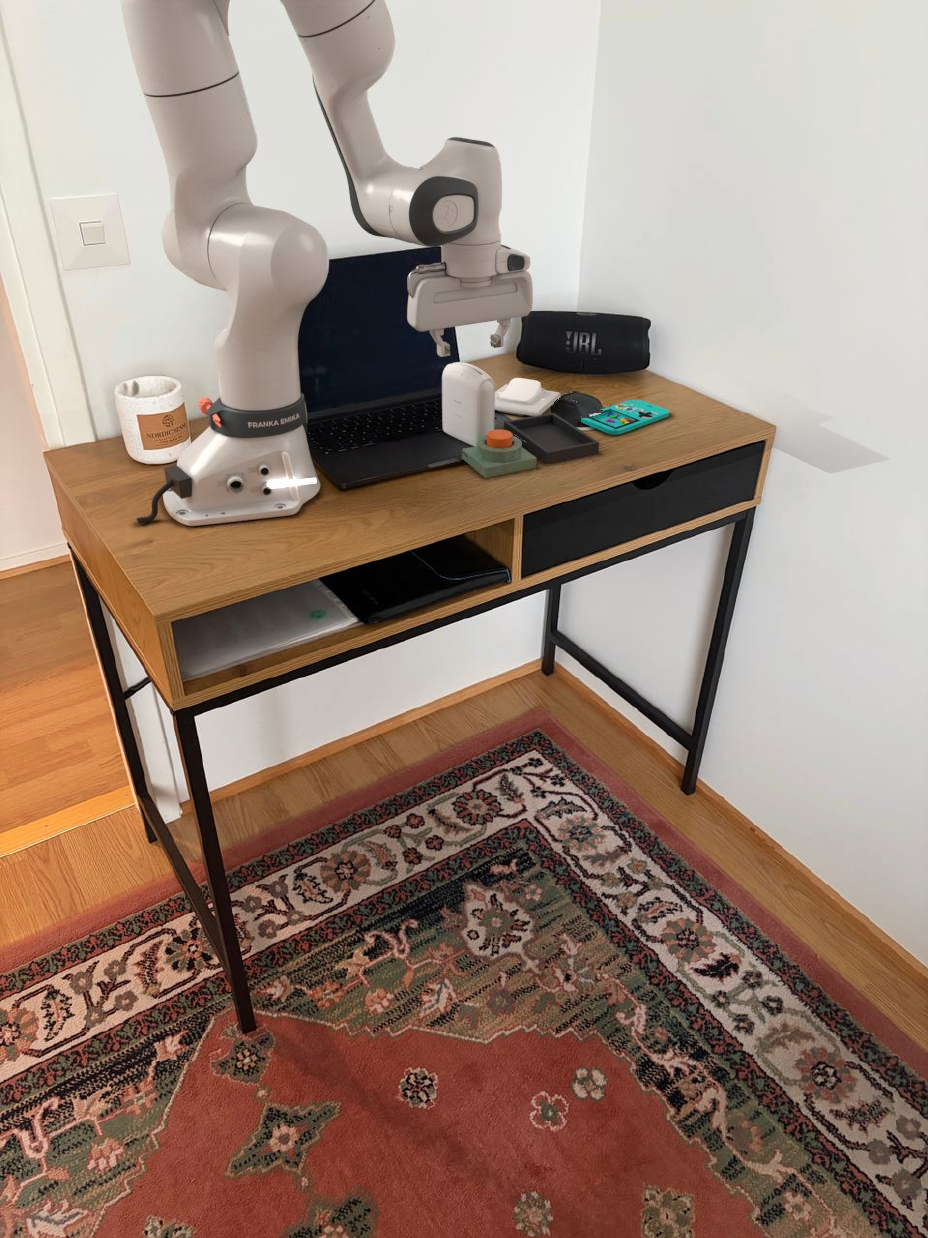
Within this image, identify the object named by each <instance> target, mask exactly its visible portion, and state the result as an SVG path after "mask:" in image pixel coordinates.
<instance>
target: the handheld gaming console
mask: <svg viewBox="0 0 928 1238" xmlns="http://www.w3.org/2000/svg"><path fill="white" fill-rule="evenodd" d="M601 410H603V412H602V413H601V414H599V415H596V416H593V417H589V418H582V417H581V419H580V423H582V424H584V425H587V426H589V427H590V428H593V429H596V430H598V431H601V432H602V433H606V434H608V435H612V436H618V435H622V434H624V433H627V432H630V431H633V430H635V429H637V428H641V427H643V426H646V425H649V424H652V423H656V422H657V421H660V420H663V419H666V418H668V417H669V415H670V410H669V409H667V408H664V407H662V406H659V405H656V404H654V403H650V402H647V401H645V400H640V399H639V400H638V399H631V400H630V399H629V400H625V401H623V402H620V403H616V404H614V405H610V406H608V407H605V408H601Z"/></svg>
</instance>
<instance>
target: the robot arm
mask: <svg viewBox="0 0 928 1238" xmlns="http://www.w3.org/2000/svg"><path fill="white" fill-rule="evenodd" d="M230 2H231V0H120V4H121V5H120V6H121V10H122V17H123V23H124V27H125V32H126V37H127V42H128V47H129V51H130V55H131V58H132V61H133V65H134V69H135V72H136V77H137V79H138V83H139V85H140V88H141V91H142V94H143V97H144V99H145V102H146V105H147V108H148V111H149V115H150V118H151V120H152V123H153V124H152V125H153V126H154V129H155V132H156V136H157V139H158V142H159V145H160V148H161V151H162V153H163V154H162V155H163V159H164V161H165V166H166V170H167V176H168V183H169V194H170V195H169V196H170V209H169V211H168V213H167V214H166V215H165V219H164V221H163V224H162V230H161V240H162V247H163V250H164V252H165V256H166V257H167V260H168V261H169V263H170V264H171V265H172V266H173V267H174V268H175V269H176V270H178V271H179V272H181V273H182V274H184V275H185V276H187V277H188V278H190V279H191V280H193V281H194V282H196V283H198V284H199V285H202V286H204V287H209V288H211V289H216V290H219V291H222V292H226V293H227V294H228V296H229V301H230V303H229V304H230V309H229V317H228V322H227V326H226V327H225V328H224V329H222V330H221V331H220V332H219V334H218V335H217V336H216V338H215V339H214V340H215V341H214V343H213V348H212V349H213V357H214V364H215V370H216V378H217V385H218V391H219V392H218V393H219V397H218V398H217V399H216V400H215V401H214V402H213V401H212V400H211V399H210V397H201V398H200V399H199V401H198V403H197V406H198V409H199V410H200V411H201V413H202V414H203V415H205V416H207V419H208V425H209V426H208V427H207V428H206V429H205V430H204V431H203V432H202V433H200V435H198V436H197V437H196V438H195V439H194V440H193V441H192V442H191V443H189V445H187V446H186V447H185V448H184V449H183V450H181V451H180V453H179V455H178V458H177V461H176V464H173V465H171V466H167V467H163V470H164V476H165V484H164V485H163V486H162V487H161V488H159V489H158V490H157V491H156V493H155V494H154V495H153V497H152V500H151V513H150V514H149V515H148V516H147V515H146V516H140V517H136V521H137V523H138V524H147V523H150V522H153V521H154V520H155V519H156V518H157V516H158V513H159V501H160V499H161V498H162V499H163V506H164V508H165V509H166V512H167V513H168V514H169V516H170V517H172V519H173V520H175V521H176V522H178V523H180V524H182V525H185V526H189V527H196V526H206V525H215V524H226V523H235V522H242V521H243V522H244V521H249V520H250V521H252V520H260V519H269V518H279V517H287V516H293V515H295V514H297V513H298V512H299V511H300V510H301V508H302V506H303V505H304V504H305V503H307V502H309V501H310V500H311V499H313V498H314V497H315V496H317V494H318V493H319V491H320V489H321V481H320V480H319V477H318V474H317V472H316V469H315V466H314V462H313V459H312V455H311V452H310V448H309V447H310V446H309V443H308V438H307V437H308V436H307V432H308V411H307V405H306V399H305V394H304V393H303V392H301V380H300V368H299V367H300V365H299V364H300V363H299V348H298V347H299V345H298V344H299V332H300V327H301V322H302V319H303V316H304V313H305V310H306V308H307V306H308V305H309V304H310V303H311V301H312V300H314V299H315V298H317V296H318V295H319V293H320V292H321V291H322V289H323V287H324V286H325V283H326V282H327V278H328V273H329V268H330V257H329V250H328V246H327V243H326V241H325V238H324V237H323V235H322V234H321V232H320V231H319V230H318V229H317V228H316V227H314V226H313V225H312V224H310V223H308V222H306V221H304V220H303V219H301V218H299V217H298V216H295V215H293V214H291V213H289V212H287V211H284V210H280V209H275V208H269V207H264V206H259V205H254V203H253V202H252V200H251V199H250V194H249V192H248V187H247V185H248V184H247V168H248V167H247V166H248V165H249V164H250V163H251V161H252V160H253V159H254V156H255V155H256V153H257V149H258V143H259V142H258V135H257V131H256V126H255V123H254V120H253V116H252V112H251V109H250V105H249V101H248V98H247V94H246V91H245V88H244V83H243V80H242V76H241V72H240V69H239V66H238V62H237V59H236V55H235V53H234V50H233V46H232V43H231V41H230V38H229V37H230V32H229V6H230ZM279 2H280V3H281V5H282V6H283V7H284V10H285V12H286V15H287V17H288V19H289V21H290V24H291V25H292V28H293V30H294V32H295V34H296V37H297V38H298V41H299V43H300V46H301V47H302V50H303V52H304V54H305V56H306V59H307V62H308V64H309V67H310V70H311V76H312V84H313V88H314V92H315V96H316V98H317V101H318V104H319V107H320V110H321V113H322V115H323V118H324V121H325V123H326V126H327V128H328V131H329V133H330V136H331V138H332V141H333V143H334V146H335V148H336V151H337V154H338V156H339V159H340V161H341V164H342V166H343V169H344V172H345V177H346V180H347V181H346V182H347V187H348V194H349V201H350V206H351V210H352V214H353V216H354V219H355V221H356V223H358V225H359V227H360V228H361V229H362V230H363V231H365V232H366V233H368V234H369V235H371V236H374V237H379V238H380V237H381V238H388V239H393V240H397V241H402V242H404V243H409V244H414V245H417V246H421V247H426V248H437V247H441V248H440V249H441V262H435V263H431V264H420V265H416V267H415V268H414V269H412V270H411V271H410V272H409V274H408V275H407V278H406V279H407V280H406V281H407V282H406V285H407V292H408V297H407V298H408V299H407V309H406V313H407V314H406V319H407V323H408V324H409V325H410V326H411V327H412V328H413V329H415V330H416V331H417V332H420V333H423V332H427V331H428V332H429V334H430V336H431V337H432V339H433V340H434V343H435V344H436V353H437V356H439V357H440V358H443V357H447V356H450V355H451V351H450V350H451V345H450V344H449V343H448V342H447V341H443V338H442V337H441V336H444V331H445V329H448V328H455V327H462V326H468V325H476V324H482V323H490V322H496V323H497V324H498V326H497V327H496V330H495V332H494V333H493V334H492V333H491V334H490V335H489V336H490V338H489V339H490V342H489V344H490V346H491V348H493V349H497V348H498V349H499V348H503V347H504V345H505V343H504V342H505V341H504V339H505V336H506V335H507V333H508V331H509V329H510V327H511V325H512V324H511V322H512V319H516V318H523V317H527V316H528V315H529V314H530V312H531V311H532V309H533V304H534V289H533V279H532V275H531V273H530V272H529V271H528V270H529V269H530V266H531V256H529V255H527V253H525V252H523V251H520V250H518V249H516V248H512V247H509V246H507V245H505V244H502V234H501V230H500V216H501V215H500V214H501V211H502V207H503V206H502V205H503V177H502V176H503V173H502V164H501V158H500V155H499V151H498V149H497V147H496V146H495V145H494V144H492V143H491V142H488V141H484V140H478V139H471V138H466V137H459V136H453V137H449V138H447V139H445V141H444V144H443V147H442V149H441V150H439V152H438V153H437V154H436V155H435V156H434V157H432V158H431V160H430V161H428V162H427V163H425V164H423V165H421V166H419V168H417V167H412V166H407V165H403V164H401V163H400V162H398V161H397V160H395V159H394V158H392V156H390V155H389V154H388V152H387V151H386V150H385V148H384V144H383V141H382V138H381V135H380V132H379V130H378V127H377V123H376V121H375V118H374V115H373V113H372V110H371V107H370V103H369V97H368V96H369V95H368V93H369V89H371V88H372V87H373V86H374V85H375V84H377V83H378V82H379V81H380V80H381V79H382V78H383V76H384V75H385V74H386V72H387V71H388V69H389V67H390V66H391V63H392V59H393V58H394V57H393V56H394V53H395V48H396V36H395V31H394V25H393V22H392V18H391V15H390V12H389V9H388V6H387V3H386V1H385V0H279Z"/></svg>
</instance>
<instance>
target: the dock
mask: <svg viewBox="0 0 928 1238" xmlns="http://www.w3.org/2000/svg"><path fill="white" fill-rule="evenodd" d="M503 423H504V424H503V430H507V431H510V432H512V434H513V436H514V437H517V436H518V437H519V438H518V437H517V438H518V439H519V440H521V439H522V440H525V441H526V442H527V444H526V443H525V442H524V441H522V440H521V441H522V447H523V448H524V449H525V450H527V451H528V452H529V453H531V454H532V455H533V456H535V457H536V458H537V459H539V460H540V461H541V462H543V463H545V464H546V465H550V464H554V463H559V462H560V463H561V462H564V461H569V460H574V459H578V458H583V457H588V456H593V455H598V454H599V451H600V450H599V449H600V441H598V440H596V439H595V438H594V437H592V436H590V435H589V434H587V433H585V432H584V431H582V430H581V429H579V428H578V427H577V426H574V425H573V424H571V423H570V422H569V421H567V420H565V419H564V418H563V417H561V416H560V415H558V414H556V413H555V412H550V413H544V414H541V415H538V416H528V417H523V418H516V419H511V420H506V421H504V422H503ZM515 426H516V427H515ZM514 434H515V435H517V436H515V435H514ZM520 438H521V439H520Z"/></svg>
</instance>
